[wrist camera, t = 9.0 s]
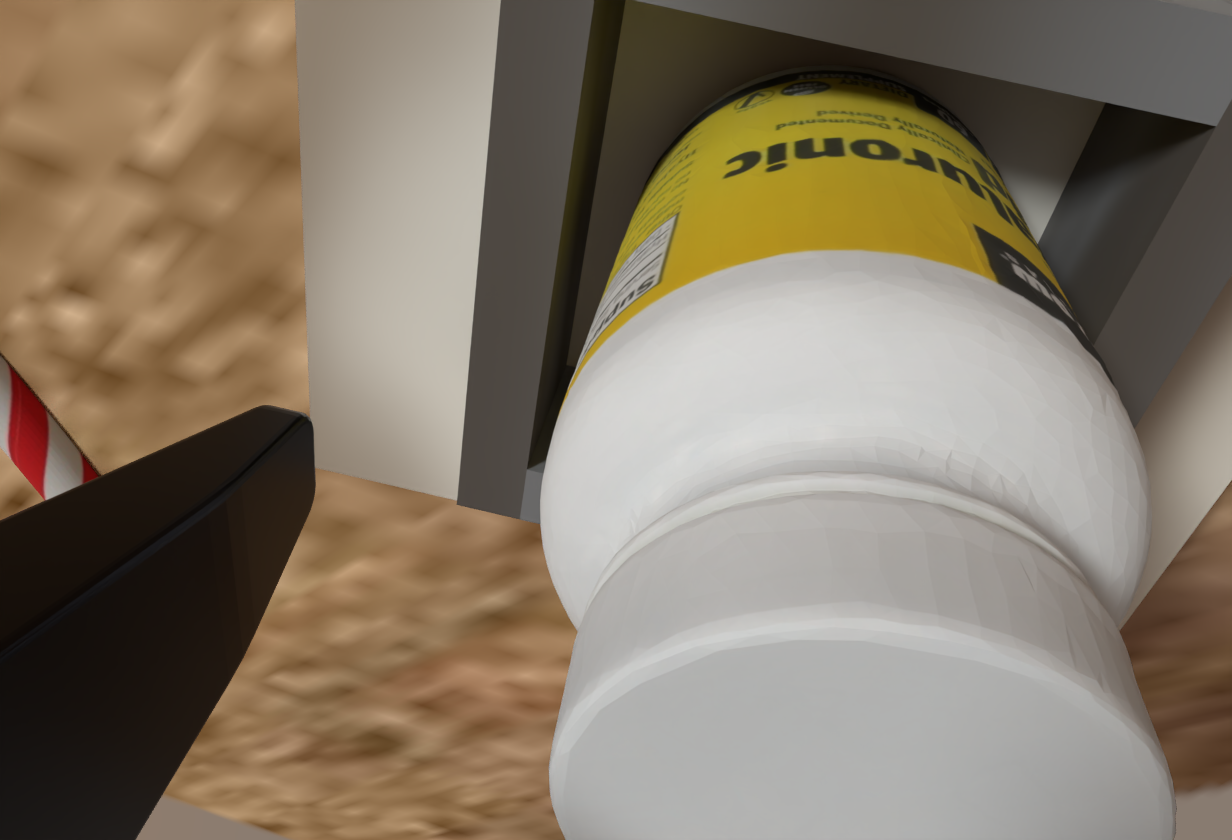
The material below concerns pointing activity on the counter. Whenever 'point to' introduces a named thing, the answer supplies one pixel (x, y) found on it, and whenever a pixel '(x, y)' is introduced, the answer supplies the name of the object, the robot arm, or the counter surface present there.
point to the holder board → (637, 137)
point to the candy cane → (37, 440)
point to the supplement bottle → (844, 501)
